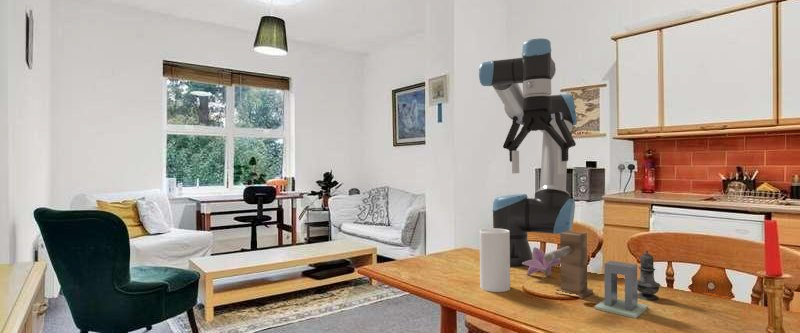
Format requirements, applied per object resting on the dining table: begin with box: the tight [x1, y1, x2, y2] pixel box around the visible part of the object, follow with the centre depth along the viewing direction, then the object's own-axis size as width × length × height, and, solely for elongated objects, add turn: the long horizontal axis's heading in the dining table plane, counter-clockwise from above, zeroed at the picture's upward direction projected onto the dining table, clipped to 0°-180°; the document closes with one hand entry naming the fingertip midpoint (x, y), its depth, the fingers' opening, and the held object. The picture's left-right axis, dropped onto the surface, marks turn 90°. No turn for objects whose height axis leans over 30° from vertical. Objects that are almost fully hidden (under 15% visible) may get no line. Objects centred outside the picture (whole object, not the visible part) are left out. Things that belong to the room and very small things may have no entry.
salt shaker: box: [637, 250, 662, 302], centre depth 109 cm, size 6×6×12 cm
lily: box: [522, 246, 561, 282], centre depth 127 cm, size 12×12×10 cm
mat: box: [593, 298, 649, 319], centre depth 101 cm, size 9×9×1 cm
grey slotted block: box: [603, 260, 639, 311], centre depth 101 cm, size 4×6×10 cm, turn 45°
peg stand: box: [544, 230, 594, 300], centre depth 109 cm, size 19×7×16 cm, turn 135°
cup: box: [479, 227, 511, 293], centre depth 119 cm, size 8×8×16 cm
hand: (537, 173), depth 118 cm, fingers open, 13 cm apart
